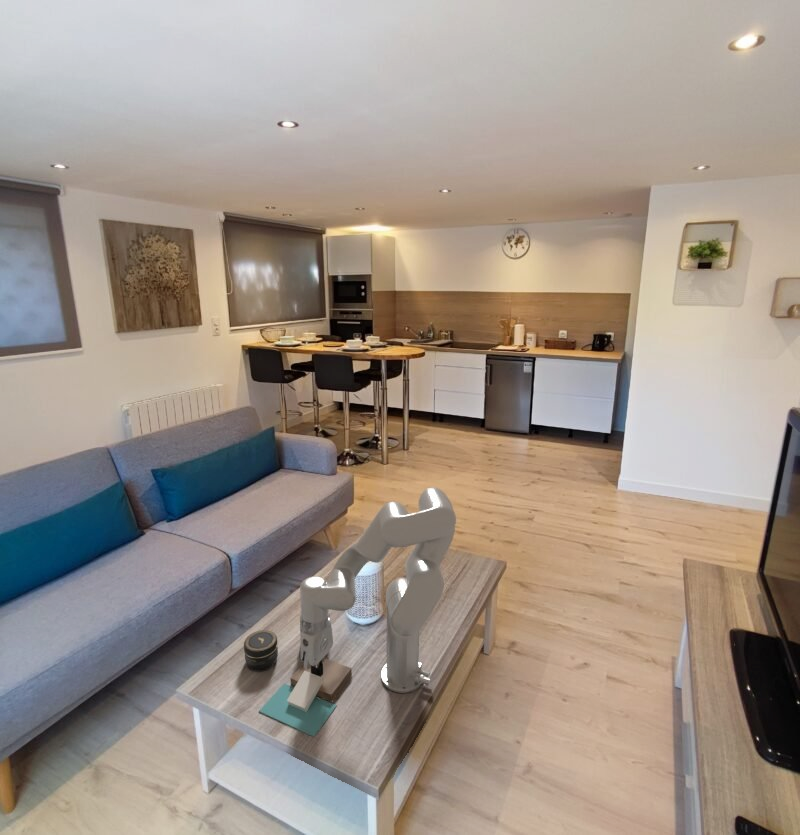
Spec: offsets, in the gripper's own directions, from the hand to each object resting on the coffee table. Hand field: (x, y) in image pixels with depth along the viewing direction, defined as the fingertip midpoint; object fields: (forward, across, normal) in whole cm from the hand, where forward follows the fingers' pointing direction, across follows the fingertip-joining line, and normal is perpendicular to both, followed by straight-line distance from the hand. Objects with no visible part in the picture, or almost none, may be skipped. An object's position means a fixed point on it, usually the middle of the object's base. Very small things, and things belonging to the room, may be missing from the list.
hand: (317, 674), depth 142 cm
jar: (+4, 0, +21) cm, 21 cm away
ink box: (+4, +13, +10) cm, 17 cm away
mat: (+4, -10, 0) cm, 10 cm away
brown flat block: (+4, +2, 0) cm, 4 cm away
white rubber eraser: (+2, -5, 0) cm, 6 cm away
